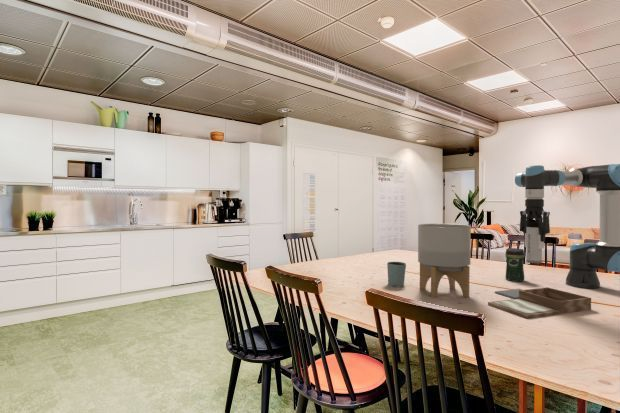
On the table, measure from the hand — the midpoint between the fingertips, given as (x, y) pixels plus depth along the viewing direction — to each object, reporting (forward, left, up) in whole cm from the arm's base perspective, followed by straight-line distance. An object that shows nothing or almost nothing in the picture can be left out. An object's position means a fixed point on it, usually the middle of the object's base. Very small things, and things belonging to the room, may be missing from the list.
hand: (534, 247), depth 173 cm
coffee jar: (-26, -34, -25) cm, 49 cm away
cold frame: (+9, +10, -25) cm, 28 cm away
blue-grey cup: (+45, -47, -25) cm, 70 cm away
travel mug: (0, 0, -7) cm, 7 cm away
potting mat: (0, -9, -25) cm, 26 cm away
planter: (+32, -24, -25) cm, 47 cm away
